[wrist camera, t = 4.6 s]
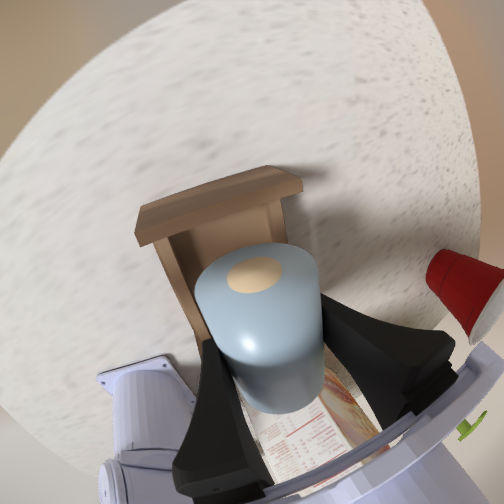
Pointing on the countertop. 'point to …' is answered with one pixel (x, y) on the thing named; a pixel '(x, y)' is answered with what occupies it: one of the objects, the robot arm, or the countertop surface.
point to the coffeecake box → (314, 434)
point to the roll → (267, 323)
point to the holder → (214, 228)
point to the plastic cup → (468, 291)
